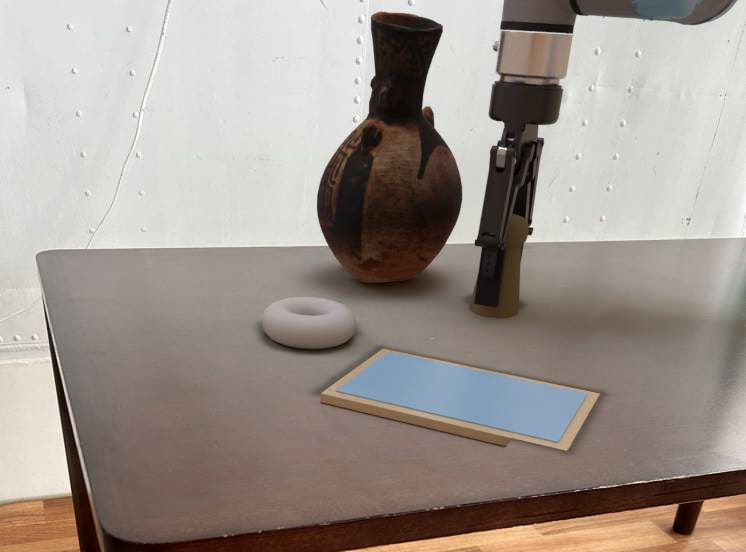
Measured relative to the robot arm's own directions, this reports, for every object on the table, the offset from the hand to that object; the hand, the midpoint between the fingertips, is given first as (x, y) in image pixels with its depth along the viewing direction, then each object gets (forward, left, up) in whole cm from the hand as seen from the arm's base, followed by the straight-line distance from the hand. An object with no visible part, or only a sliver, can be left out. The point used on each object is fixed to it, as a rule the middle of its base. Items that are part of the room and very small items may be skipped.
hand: (495, 296), depth 99 cm
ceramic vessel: (+17, -5, -2) cm, 17 cm away
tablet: (-6, +30, -2) cm, 31 cm away
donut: (+14, +22, -2) cm, 26 cm away
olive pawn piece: (0, 0, -2) cm, 2 cm away
